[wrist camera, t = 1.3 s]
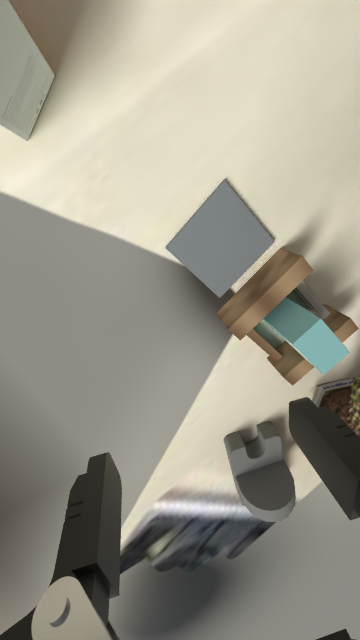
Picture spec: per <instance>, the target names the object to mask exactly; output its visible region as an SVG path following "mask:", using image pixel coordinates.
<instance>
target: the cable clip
mask: <svg viewBox="0 0 360 640" xmlns="http://www.w3.org/2000/svg"><path fill="white" fill-rule="evenodd" d="M256 427H257V433H258V436H257V438H256V439H255V440H254V441H252V442H250V443H243V441H242V439H241V436H240V434H239V432H238V431H237V432H234V433H231V434H229V435H227V436H225V438H224V443H225V447H226V451H227V455H228V459H229V462H230V466H231V470H232V474H233V478H234V482H235V486H236V489H237V492H238V494H239V497H240V500H241V502H242V505H244V506H246V507H247V509H248V510H249V511H250V512H251V513H252V514H253V515H255V516H256V517H257V518H259V519H262V520H264V521H269V522H276V521H281V520H283V519H285V518H286V517H288V516H289V514H290V513H291V512H292V510H293V508H294V506H295V498H296V497H295V485H294V479H293V477H292V474H291V472H290V470H289V469H288V467H287V465H286V464H285V462H284V460H283V453H282V443H281V438H280V436H279V434H278V433H277V431H276V430H275V428H274V427H273V425H272V423H271V422H264V423H261V424H258V425H256Z"/></svg>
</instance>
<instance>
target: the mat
mask: <svg viewBox="0 0 360 640" xmlns="http://www.w3.org/2000/svg"><path fill="white" fill-rule="evenodd" d="M274 242H275V241H274V240H273V239H272V237H271V236H270V235H269V234H268V233H267V231H266V230H265V229H264V228H263V226H262V225H261V224H260V223H259V222H258V220H257V219H256V218H255V217H254V215H253V214H252V213H251V212H250V211H249V209H248V208H247V207H246V206H245V204H244V203H243V202H242V201H241V199H240V198H239V197H238V196H237V195H236V193H235V192H234V191H233V190H232V188H231V187H230V186H229V185H228V184H227V182H226V181H225V180H223V182H222V183H221V184H220V185H219V186H218V187H217V188H216V190H215V191H214V192H213V193H212V194H211V195H210V197H209V198H208V199H207V200H206V201H205V202H204V203H203V205H202V206H201V207H200V208H199V209H198V210H197V212H196V213H195V214H194V215H193V216H192V217H191V218H190V220H189V221H188V222H187V223H186V224H185V225H184V227H183V228H182V229H181V230H180V231H179V232H178V233H177V235H176V236H175V237H174V238H173V239H172V240H171V242H170V243H169V244H168V245H167V246H166V247H165V248H166V249H167V250H168V251H169V252H171V253H172V254H173V255H174V256H175V257H176V258H177V259H178V260H179V261H180V262H181V263H182V264H184V265H185V266H186V267H187V268H188V269H189V270H190V271H191V272H192V273H193V274H194V275H195V276H197V277H198V278H199V279H200V280H201V281H202V282H203V283H204V284H205V285H206V286H207V287H208V288H210V289H211V290H212V291H213V292H214V293H215V294H216V295H217V296H218V297H219V298H220V297H221V296H222V295H223V294H224V293H225V292H226V291H227V290H228V289H229V288H230V287H231V286H232V285H233V284H234V283H235V282H236V281H237V280H238V279H239V278H240V277H241V276H242V275H243V274H244V273H245V272H246V271H247V270H248V269H249V268H250V267H251V266H252V264H253V263H254V262H255V261H256V260H257V259H258V258H259V257H260V256H261V255H262V254H263V253H264V252H265V251H266V250H267V249H268V248H269V247H270V246H271V245H272V244H273V243H274Z"/></svg>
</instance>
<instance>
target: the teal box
mask: <svg viewBox="0 0 360 640" xmlns="http://www.w3.org/2000/svg"><path fill="white" fill-rule="evenodd" d="M263 320H264V321H265V322H266V323H267V324H268V325H270V326H271V327H272V328H273V329H274V330H275V331H276V332H277V333H278V334H279V335H280V336H281V337H282V338H283V339H284V340H285V341H286V342H288V343H289V344H290V345H291V346H292V347H293V348H294V349H295V350H296V351H298V352H299V353H300V354H301V355H302V356H303V357H304V358H305V359H306V360H307V361H308V362H310V363H311V364H312V365H313V366H314V367H315V368H316V369H318V370H319V371H320V372H321V373H322V374H323V375H324V374H325V373H326V372H327V371H328V370H330V369H331V368H332V367H333V366H334V365H336V364H337V363H338V362H339V361H340V360H341V359H343V358H344V357H345V356H346V355H347V354H348V353H350V352H349V350H348V349H347V348H346V347H345V346H344V345H343V344H342V342H341V341H340V340H339V339H338V338H337V337H336V335H335V334H334V333H333V332H332V331H331V330H330V328H329V327H328V326H327V325H326V324H325V323H324V322H323V320H322V319H321V318H319V317H318V316H316V315H314V314H313V313H311V312H310V311H308V310H306V309H305V308H303V307H301V306H300V305H298V304H297V303H295V302H293V301H292V300H290V299H288V298H287V297H285V298H284V299H283V300H282V301H281V302H280V303H279V304H278V305H277V306H276V307H275V308H274V309H273V310H272V311H271V312H270V313H268V314H267V315H266V316H265V317H264V318H263Z"/></svg>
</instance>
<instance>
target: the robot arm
mask: <svg viewBox="0 0 360 640" xmlns="http://www.w3.org/2000/svg"><path fill="white" fill-rule="evenodd" d="M289 429H290V432H291V435H292V437H293V439H294V440H295V442H296V443H297V445H298V446H299V448H300V449H301V450H302V452H303V453H304V455H305V456H306V458H307V459H308V461H309V462H310V463H311V465H312V466H313V468H314V469H315V471H316V472H317V473H318V475H319V476H320V478H321V479H322V481H323V482H324V484H325V485H326V486H327V488H328V489H329V491H330V492H331V494H332V495H333V496H334V498H335V499H336V501H337V502H338V504H339V505H340V506H341V508H342V509H343V511H344V512H345V514H346V515H347V516H348V518H349V519H350V520H353V519H356V518H359V517H360V437H359V436H358V435H356V434H355V432H354V431H353V430H352V429H351V428H350V427H349V426H347V424H346V423H345V422H344V421H343V420H342V419H341V418H340V417H339V416H338V415H337V414H336V413H335V412H333V411H331V410H329V409H328V408H326V407H324V406H322V407H319V408H318V407H317V406H316V405H315V404H314V403H313V402H312V401H311V400H310V399H309V398H307V397H305V398H302V399H298V400H295V401H291V402H290V403H289ZM121 497H122V487H121V479H120V475H119V472H118V470H117V468H116V466H115V464H114V461H113V459H112V457H111V455H110V453H109V452H108V453H104V454H100V455H97V456H93V457H90V459H89V462H88V468H87V473H86V474H82V475H79V476H78V478H77V479H76V481H75V483H74V485H73V487H72V489H71V490H70V495H69V500H68V505H67V506H68V508H67V510H66V516H65V522H64V525H63V530H62V535H61V540H60V545H59V550H58V555H57V559H56V564H55V570H54V574H53V578H52V581H51V583H50V586H49V588H48V589H47V590H46V591H45V593H44V594H43V596H42V597H41V599H40V601H39V602H38V605H37V606H36V607H35V608H34V609H33V610H32V611H31V612H30V613H29V614H28V615H27V616H25V617H24V618H23V619H21V620H20V621H19V622H17V623H16V624H15V625H13V626H12V627H11V628H9V629H8V630H7V631H5V632H4V633H3V634H1V635H0V640H120V638H119V637H118V634H117V633H116V631H115V629H114V627H113V626H112V624H111V622H110V621H109V619H108V612H109V599H110V598H113V597H116V596H119V579H120V540H121V499H122V498H121ZM317 640H355V639H351V638H350V636H349V634H348V632H347V630H346V629H344V630H341V631H338V632H335V633H333V634H330V635H327V636H325V637H322V638H319V639H317Z"/></svg>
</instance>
